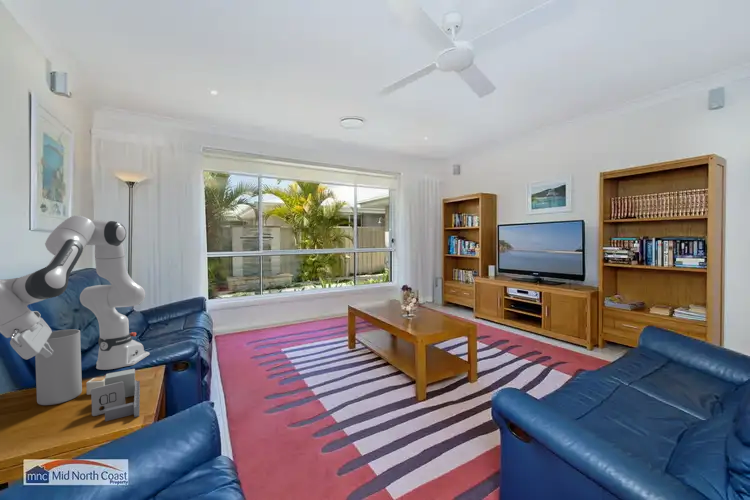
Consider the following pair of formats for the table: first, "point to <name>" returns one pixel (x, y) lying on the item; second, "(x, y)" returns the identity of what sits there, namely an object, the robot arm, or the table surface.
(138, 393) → the rail
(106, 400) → the electrical switch
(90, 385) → the block
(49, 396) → the cylinder vase
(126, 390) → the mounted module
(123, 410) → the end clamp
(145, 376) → the table surface
